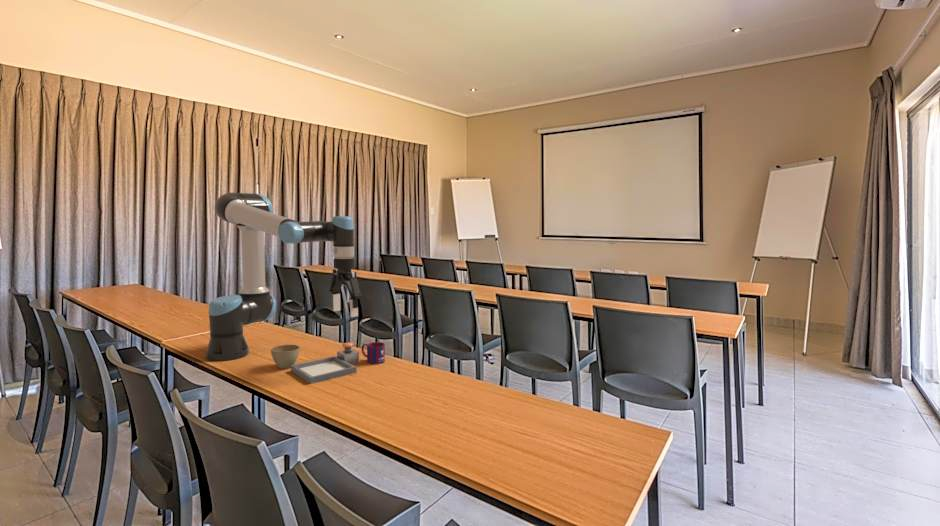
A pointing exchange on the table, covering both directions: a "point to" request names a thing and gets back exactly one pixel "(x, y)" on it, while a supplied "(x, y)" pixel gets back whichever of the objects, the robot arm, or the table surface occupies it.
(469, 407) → the table surface
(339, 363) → the tray
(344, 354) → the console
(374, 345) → the cup
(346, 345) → the button
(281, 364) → the flower pot
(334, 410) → the table surface
